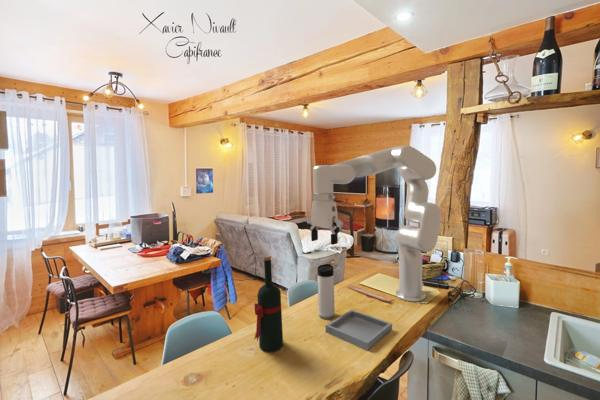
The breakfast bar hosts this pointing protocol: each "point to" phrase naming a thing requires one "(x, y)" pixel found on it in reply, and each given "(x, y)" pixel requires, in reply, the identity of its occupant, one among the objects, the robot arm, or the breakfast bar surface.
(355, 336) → the tray
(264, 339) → the wine bottle
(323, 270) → the travel mug
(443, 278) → the breakfast bar surface
